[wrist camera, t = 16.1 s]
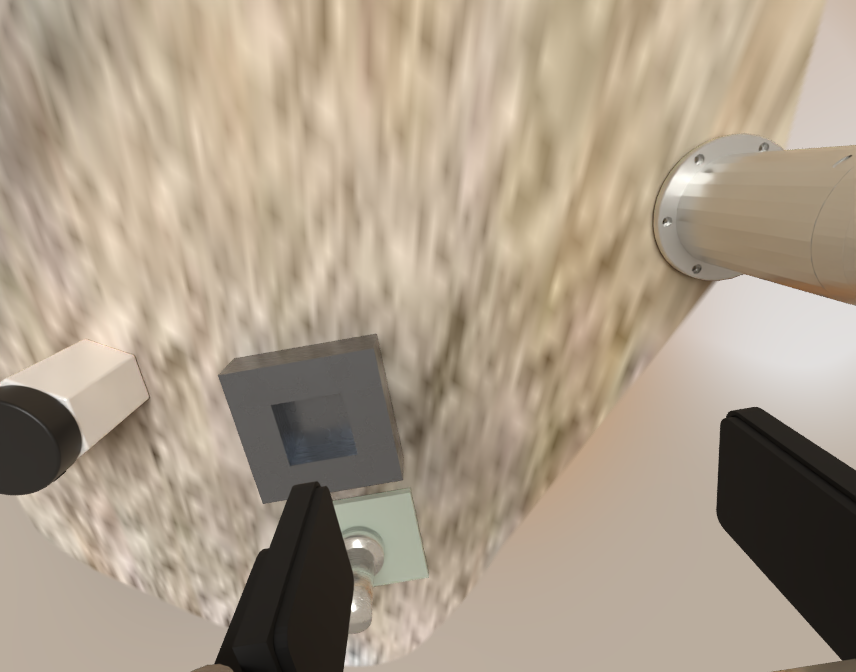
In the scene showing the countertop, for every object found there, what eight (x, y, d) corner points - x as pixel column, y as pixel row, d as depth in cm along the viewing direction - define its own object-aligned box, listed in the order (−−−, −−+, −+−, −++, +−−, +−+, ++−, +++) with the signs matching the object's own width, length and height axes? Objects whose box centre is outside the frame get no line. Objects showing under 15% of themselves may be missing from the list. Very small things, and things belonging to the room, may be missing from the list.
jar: (48, 401, 45) (-72, 476, 34) (61, 328, 43) (-63, 382, 32) (141, 430, 47) (56, 511, 35) (159, 361, 44) (74, 424, 33)
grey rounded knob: (381, 523, 51) (378, 593, 42) (386, 563, 53) (385, 637, 44) (329, 529, 50) (317, 600, 42) (337, 569, 52) (326, 645, 44)
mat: (410, 487, 50) (410, 492, 50) (428, 571, 54) (428, 577, 53) (284, 509, 51) (282, 514, 50) (311, 591, 54) (310, 597, 54)
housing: (376, 333, 44) (373, 348, 41) (403, 456, 49) (403, 480, 45) (234, 358, 45) (218, 375, 41) (274, 478, 49) (262, 503, 45)
